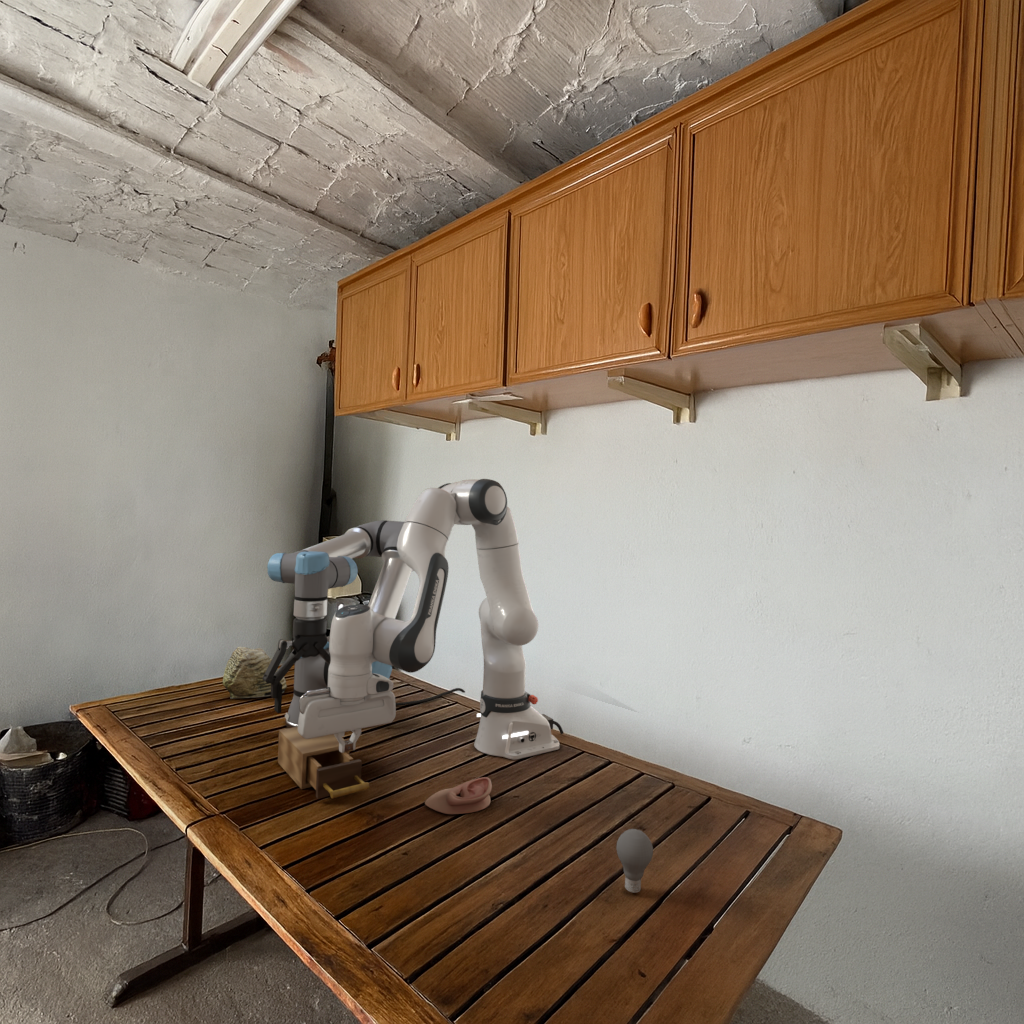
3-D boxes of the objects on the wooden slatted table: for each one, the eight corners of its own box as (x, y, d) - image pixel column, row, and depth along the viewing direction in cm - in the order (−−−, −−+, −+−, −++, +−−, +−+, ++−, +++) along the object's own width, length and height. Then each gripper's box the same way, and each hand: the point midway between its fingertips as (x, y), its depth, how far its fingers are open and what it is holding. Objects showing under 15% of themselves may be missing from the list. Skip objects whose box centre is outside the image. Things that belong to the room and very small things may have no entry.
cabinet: (348, 777, 143) (349, 743, 143) (301, 789, 137) (302, 753, 137) (321, 753, 156) (323, 721, 156) (277, 762, 150) (278, 730, 149)
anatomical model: (420, 791, 129) (438, 768, 141) (419, 810, 129) (437, 786, 141) (483, 800, 127) (496, 776, 138) (482, 819, 127) (495, 794, 138)
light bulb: (610, 879, 108) (613, 822, 108) (644, 879, 109) (647, 822, 109) (619, 902, 102) (622, 840, 102) (655, 901, 103) (658, 840, 103)
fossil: (218, 695, 195) (220, 647, 195) (278, 685, 208) (279, 640, 207) (228, 703, 189) (230, 653, 188) (289, 692, 201) (290, 645, 201)
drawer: (372, 798, 132) (373, 770, 132) (328, 810, 126) (329, 781, 126) (333, 763, 148) (334, 738, 148) (293, 772, 143) (294, 746, 143)
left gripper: (260, 624, 139) (256, 720, 139) (366, 615, 154) (362, 702, 155) (250, 618, 145) (247, 710, 145) (353, 610, 160) (350, 694, 161)
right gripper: (305, 696, 122) (302, 767, 123) (400, 681, 135) (397, 746, 135) (294, 687, 127) (291, 755, 128) (387, 674, 140) (384, 736, 140)
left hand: (306, 706), depth 150 cm, fingers open, 13 cm apart
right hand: (347, 750), depth 131 cm, fingers closed
